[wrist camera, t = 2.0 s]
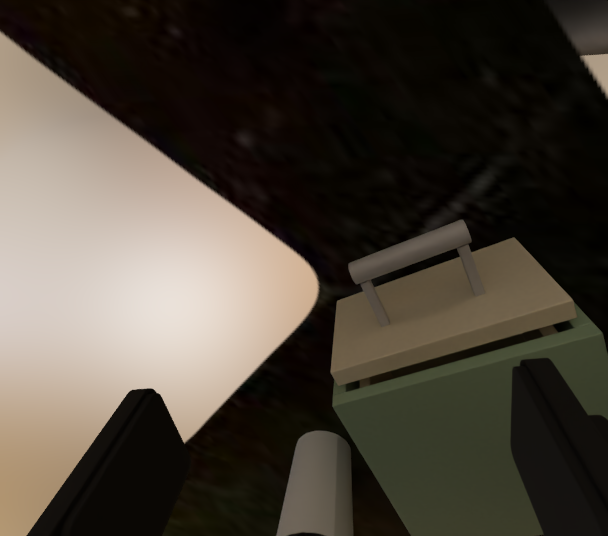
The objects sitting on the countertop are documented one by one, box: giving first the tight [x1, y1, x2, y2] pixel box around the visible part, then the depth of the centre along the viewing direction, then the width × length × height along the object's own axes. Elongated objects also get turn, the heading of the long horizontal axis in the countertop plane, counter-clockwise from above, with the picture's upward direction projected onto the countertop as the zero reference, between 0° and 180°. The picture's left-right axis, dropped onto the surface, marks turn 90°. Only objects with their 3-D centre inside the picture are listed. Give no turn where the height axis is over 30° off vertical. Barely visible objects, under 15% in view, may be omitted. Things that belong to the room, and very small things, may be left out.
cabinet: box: [332, 303, 608, 536], centre depth 29 cm, size 16×15×10 cm
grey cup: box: [276, 431, 353, 536], centre depth 36 cm, size 7×7×10 cm
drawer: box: [331, 220, 577, 388], centre depth 27 cm, size 20×14×8 cm
